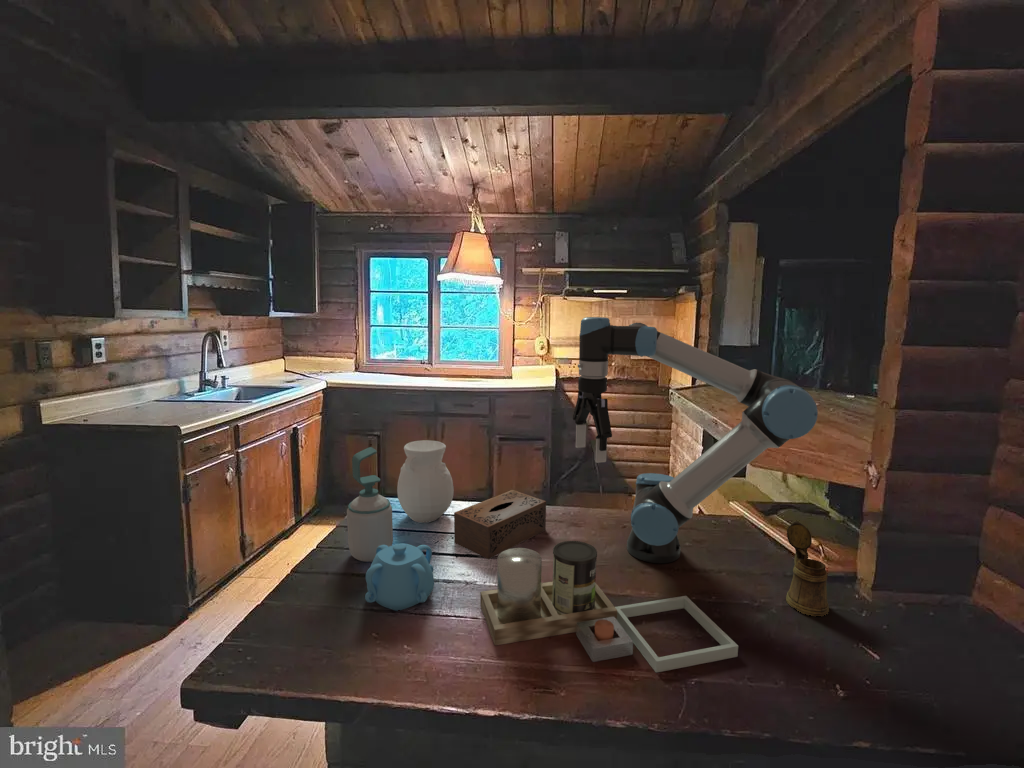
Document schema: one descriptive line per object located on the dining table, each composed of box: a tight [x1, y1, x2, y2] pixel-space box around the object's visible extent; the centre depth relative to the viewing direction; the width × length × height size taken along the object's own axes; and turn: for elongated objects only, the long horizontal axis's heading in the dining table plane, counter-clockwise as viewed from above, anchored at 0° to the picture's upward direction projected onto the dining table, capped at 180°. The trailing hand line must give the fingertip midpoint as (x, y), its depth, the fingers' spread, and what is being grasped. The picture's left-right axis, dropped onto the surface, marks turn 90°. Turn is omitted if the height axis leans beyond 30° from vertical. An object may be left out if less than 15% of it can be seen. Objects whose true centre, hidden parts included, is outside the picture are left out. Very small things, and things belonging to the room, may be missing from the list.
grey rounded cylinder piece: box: [496, 547, 543, 624], centre depth 120 cm, size 10×10×14 cm
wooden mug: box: [785, 520, 830, 617], centre depth 129 cm, size 9×14×18 cm, turn 179°
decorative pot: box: [364, 542, 435, 612], centre depth 129 cm, size 16×16×14 cm
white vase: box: [396, 439, 455, 524], centre depth 175 cm, size 19×18×25 cm
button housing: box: [575, 617, 634, 663], centre depth 113 cm, size 9×9×3 cm
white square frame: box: [614, 595, 739, 673], centre depth 116 cm, size 19×19×2 cm
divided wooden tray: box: [479, 581, 617, 646], centre depth 123 cm, size 28×15×4 cm, turn 105°
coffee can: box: [552, 540, 598, 615], centre depth 124 cm, size 10×10×14 cm
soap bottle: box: [346, 446, 394, 563], centre depth 149 cm, size 12×12×31 cm
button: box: [594, 620, 614, 641], centre depth 113 cm, size 4×4×4 cm
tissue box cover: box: [453, 489, 547, 560], centre depth 163 cm, size 26×14×10 cm, turn 137°
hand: (590, 454), depth 142 cm, fingers open, 13 cm apart
